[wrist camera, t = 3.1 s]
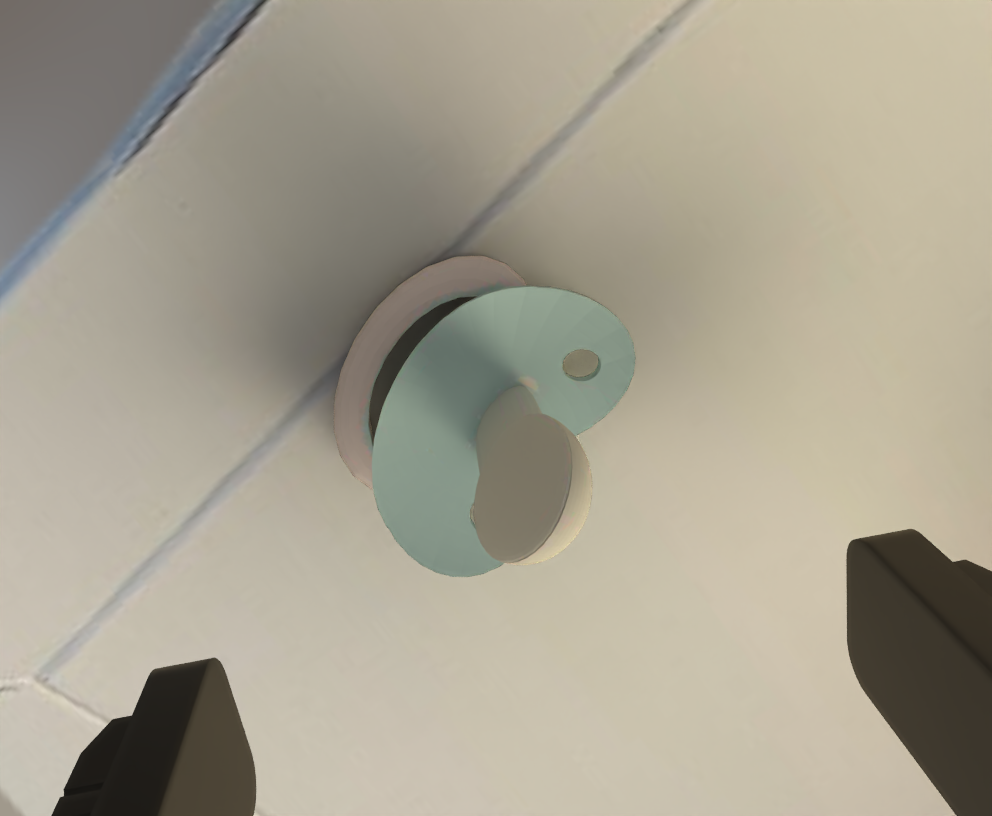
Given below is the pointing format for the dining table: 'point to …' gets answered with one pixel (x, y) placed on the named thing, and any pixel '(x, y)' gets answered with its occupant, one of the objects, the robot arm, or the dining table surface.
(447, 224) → the dining table surface
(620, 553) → the dining table surface
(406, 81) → the dining table surface
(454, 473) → the pacifier
